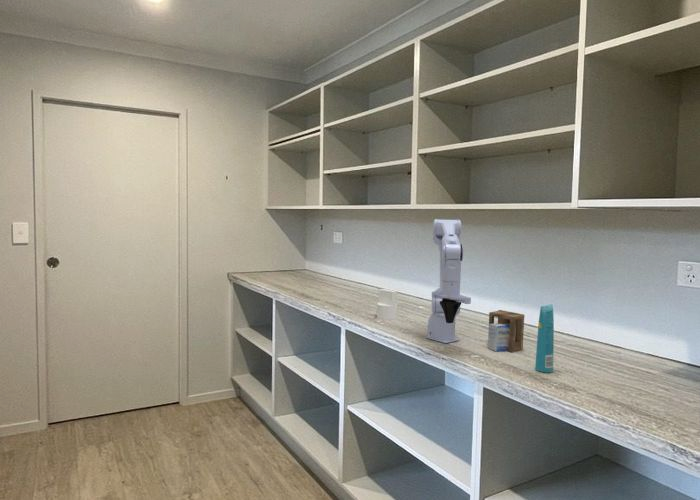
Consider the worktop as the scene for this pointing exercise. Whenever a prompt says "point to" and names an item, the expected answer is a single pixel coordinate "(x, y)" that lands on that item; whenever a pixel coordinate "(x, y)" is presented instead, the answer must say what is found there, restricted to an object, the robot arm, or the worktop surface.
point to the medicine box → (499, 336)
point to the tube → (545, 340)
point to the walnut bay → (511, 327)
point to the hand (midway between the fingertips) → (449, 322)
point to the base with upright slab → (387, 305)
